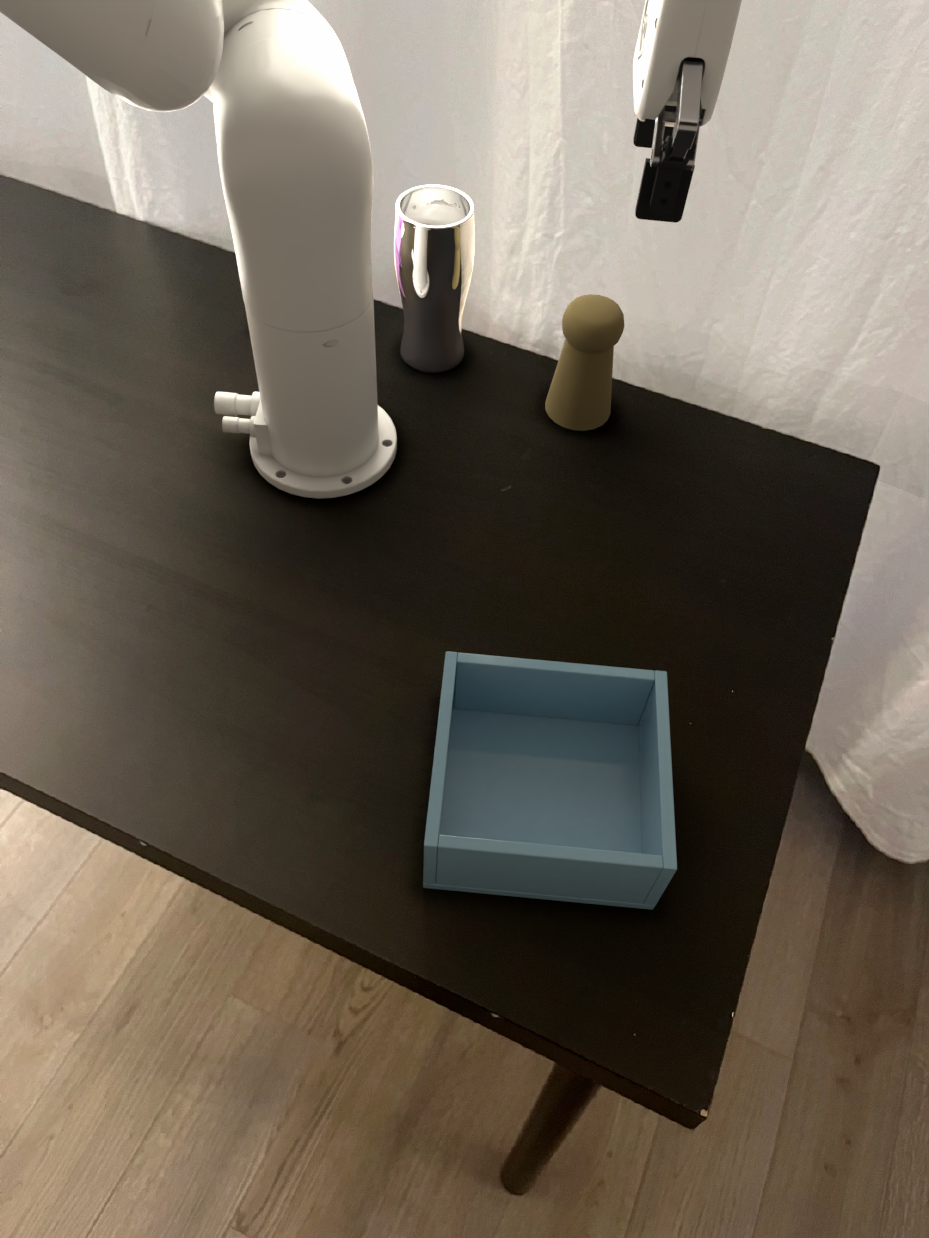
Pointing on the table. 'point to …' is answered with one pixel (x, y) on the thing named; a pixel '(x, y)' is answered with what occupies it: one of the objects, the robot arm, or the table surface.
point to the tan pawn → (585, 363)
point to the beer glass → (433, 273)
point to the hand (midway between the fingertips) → (655, 181)
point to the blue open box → (551, 782)
